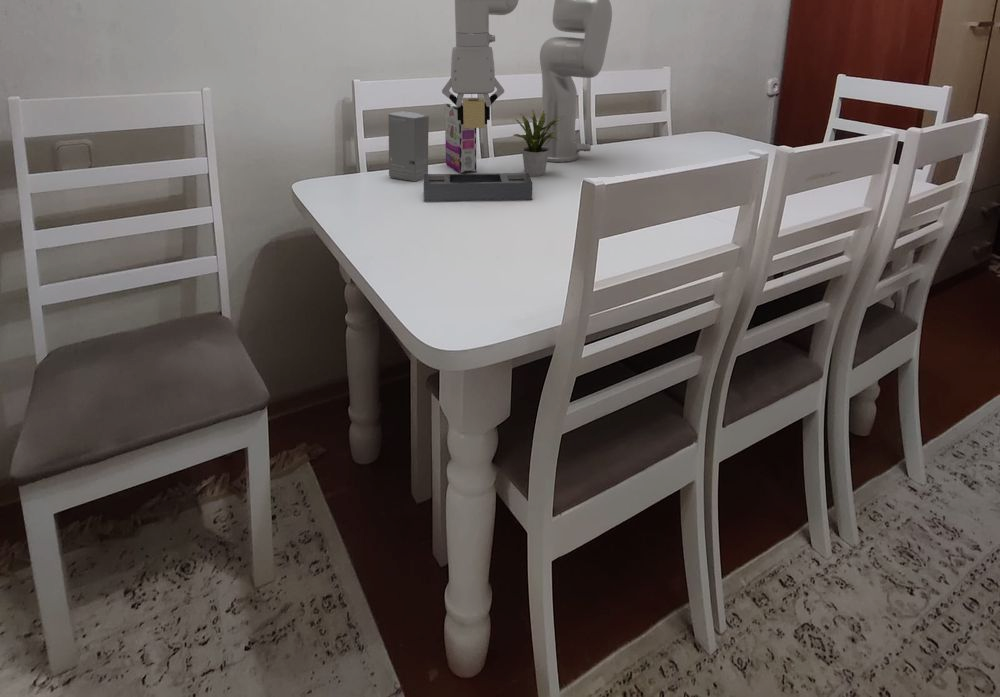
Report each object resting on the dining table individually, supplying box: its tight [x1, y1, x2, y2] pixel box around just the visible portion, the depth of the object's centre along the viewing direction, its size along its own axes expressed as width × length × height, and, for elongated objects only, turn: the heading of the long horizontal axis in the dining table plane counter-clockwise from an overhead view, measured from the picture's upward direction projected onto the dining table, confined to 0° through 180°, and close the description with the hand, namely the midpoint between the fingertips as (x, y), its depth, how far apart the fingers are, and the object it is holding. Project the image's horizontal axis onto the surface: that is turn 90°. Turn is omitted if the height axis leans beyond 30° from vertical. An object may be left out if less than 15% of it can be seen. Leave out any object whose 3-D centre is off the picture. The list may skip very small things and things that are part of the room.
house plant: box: [512, 108, 564, 177], centre depth 182 cm, size 14×14×16 cm
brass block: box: [462, 97, 486, 129], centre depth 168 cm, size 5×5×6 cm
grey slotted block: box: [423, 172, 533, 202], centre depth 167 cm, size 25×9×4 cm, turn 94°
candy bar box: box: [444, 101, 477, 174], centre depth 187 cm, size 11×5×16 cm, turn 25°
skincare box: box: [388, 110, 430, 182], centre depth 179 cm, size 8×7×16 cm
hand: (473, 122), depth 169 cm, fingers closed on brass block, 5 cm apart
